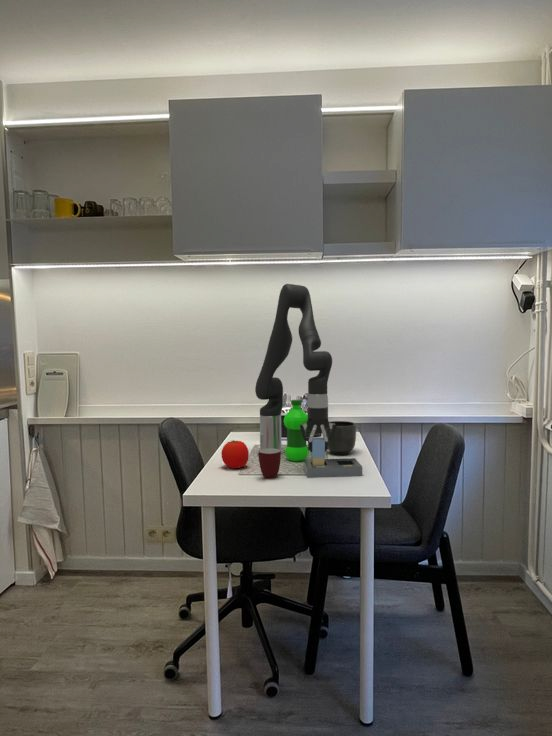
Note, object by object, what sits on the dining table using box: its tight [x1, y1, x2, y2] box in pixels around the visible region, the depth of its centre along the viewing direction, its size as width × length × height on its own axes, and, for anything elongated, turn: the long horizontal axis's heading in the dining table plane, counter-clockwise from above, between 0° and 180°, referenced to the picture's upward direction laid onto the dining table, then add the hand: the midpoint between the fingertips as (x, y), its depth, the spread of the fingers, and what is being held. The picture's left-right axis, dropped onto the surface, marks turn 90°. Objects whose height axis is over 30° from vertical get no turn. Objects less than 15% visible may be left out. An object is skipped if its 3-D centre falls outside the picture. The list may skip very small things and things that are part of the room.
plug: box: [310, 436, 326, 466], centre depth 184 cm, size 4×4×10 cm
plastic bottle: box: [283, 399, 310, 462], centre depth 203 cm, size 10×10×25 cm
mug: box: [258, 448, 282, 480], centre depth 181 cm, size 10×8×10 cm
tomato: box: [220, 439, 250, 469], centre depth 195 cm, size 10×11×11 cm
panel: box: [302, 457, 363, 479], centre depth 185 cm, size 20×12×4 cm, turn 94°
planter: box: [325, 420, 357, 456], centre depth 216 cm, size 14×14×13 cm
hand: (317, 451), depth 184 cm, fingers closed on plug, 4 cm apart
